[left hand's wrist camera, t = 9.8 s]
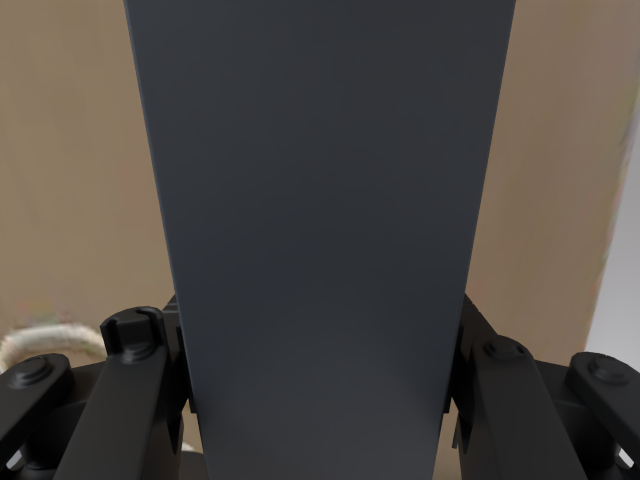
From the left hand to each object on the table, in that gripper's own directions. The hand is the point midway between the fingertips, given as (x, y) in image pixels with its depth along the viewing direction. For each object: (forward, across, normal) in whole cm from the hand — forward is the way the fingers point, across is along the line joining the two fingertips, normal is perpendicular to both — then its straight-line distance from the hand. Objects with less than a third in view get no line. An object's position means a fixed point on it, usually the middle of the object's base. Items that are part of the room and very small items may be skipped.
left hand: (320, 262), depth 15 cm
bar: (+1, 0, -8) cm, 8 cm away
